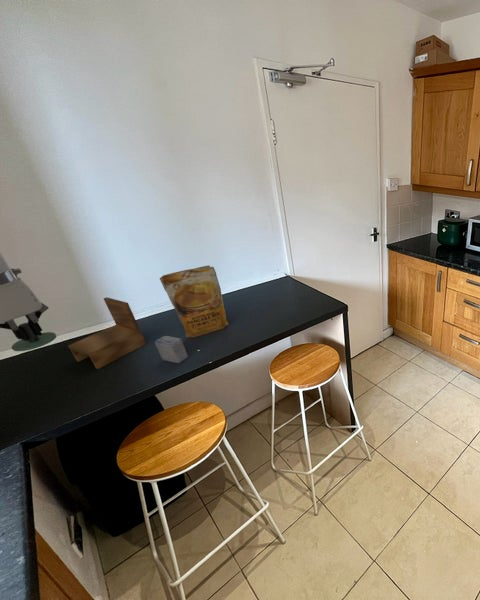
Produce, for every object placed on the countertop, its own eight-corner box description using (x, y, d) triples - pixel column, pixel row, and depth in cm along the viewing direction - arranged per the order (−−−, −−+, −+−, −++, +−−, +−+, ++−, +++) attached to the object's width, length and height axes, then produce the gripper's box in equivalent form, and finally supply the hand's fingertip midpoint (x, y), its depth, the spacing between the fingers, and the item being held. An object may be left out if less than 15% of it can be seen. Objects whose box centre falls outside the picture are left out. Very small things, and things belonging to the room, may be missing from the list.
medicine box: (188, 356, 120) (181, 338, 116) (178, 364, 116) (170, 344, 112) (172, 353, 121) (164, 334, 118) (162, 360, 118) (153, 341, 114)
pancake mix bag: (181, 334, 133) (157, 273, 121) (229, 320, 144) (212, 263, 131) (183, 341, 129) (159, 279, 116) (233, 326, 139) (216, 267, 127)
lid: (22, 354, 87) (9, 336, 84) (5, 347, 90) (-7, 329, 87) (63, 337, 94) (52, 320, 91) (46, 331, 97) (36, 314, 94)
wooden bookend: (97, 369, 113) (72, 324, 105) (76, 361, 118) (50, 317, 109) (146, 343, 127) (127, 302, 119) (126, 337, 132) (106, 297, 123)
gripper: (27, 266, 90) (59, 321, 99) (-61, 288, 77) (-15, 349, 86) (41, 270, 88) (73, 326, 96) (-47, 293, 75) (-1, 355, 83)
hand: (31, 336), depth 91 cm, fingers closed on lid
